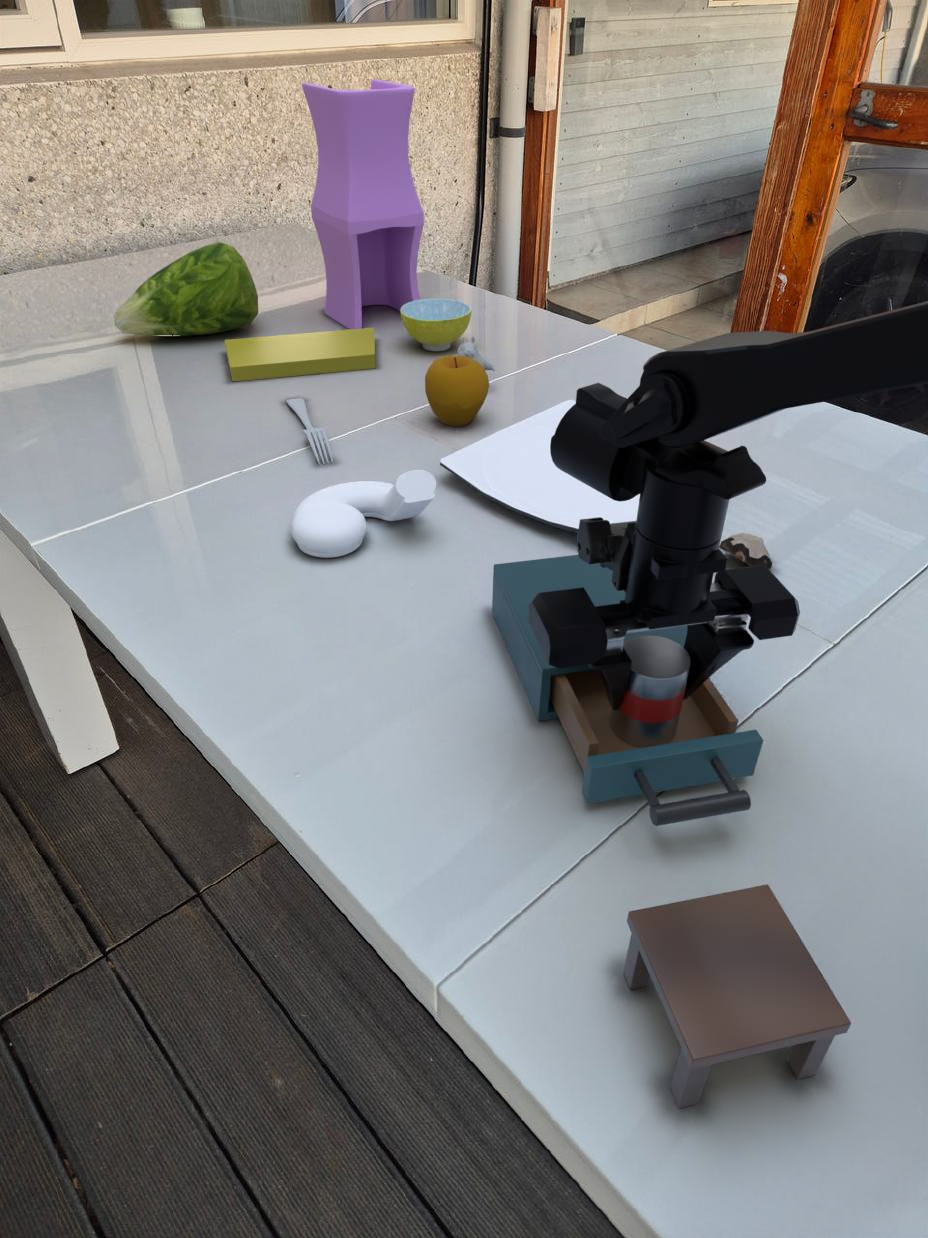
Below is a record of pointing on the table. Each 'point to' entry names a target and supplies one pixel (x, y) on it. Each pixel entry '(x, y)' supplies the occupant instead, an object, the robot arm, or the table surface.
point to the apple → (456, 389)
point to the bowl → (436, 321)
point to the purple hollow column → (365, 198)
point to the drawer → (657, 750)
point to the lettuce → (193, 296)
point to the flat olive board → (301, 354)
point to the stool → (732, 984)
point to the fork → (311, 429)
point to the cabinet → (512, 611)
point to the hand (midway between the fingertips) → (647, 701)
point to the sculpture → (357, 511)
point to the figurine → (473, 353)
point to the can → (652, 692)
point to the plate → (534, 475)
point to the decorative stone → (747, 549)
